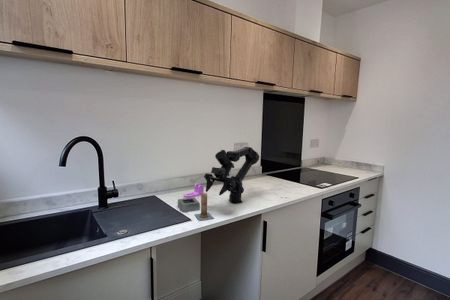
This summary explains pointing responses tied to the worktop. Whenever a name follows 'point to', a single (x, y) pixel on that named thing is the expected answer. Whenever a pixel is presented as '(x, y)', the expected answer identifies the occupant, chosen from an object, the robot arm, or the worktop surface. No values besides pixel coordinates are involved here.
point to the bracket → (195, 191)
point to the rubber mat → (203, 218)
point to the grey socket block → (188, 204)
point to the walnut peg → (204, 206)
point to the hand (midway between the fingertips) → (212, 193)
